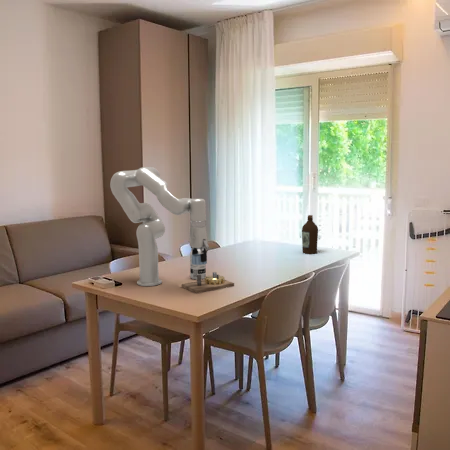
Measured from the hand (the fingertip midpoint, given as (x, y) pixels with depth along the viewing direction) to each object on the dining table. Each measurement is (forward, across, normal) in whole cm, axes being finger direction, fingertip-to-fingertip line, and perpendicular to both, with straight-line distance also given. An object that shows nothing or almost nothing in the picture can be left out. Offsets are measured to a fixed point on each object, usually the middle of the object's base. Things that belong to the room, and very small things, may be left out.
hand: (199, 260), depth 237 cm
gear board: (+14, 0, +5) cm, 15 cm away
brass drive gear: (+13, 0, +9) cm, 15 cm away
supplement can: (+14, -18, +10) cm, 25 cm away
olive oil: (+15, -32, +104) cm, 110 cm away
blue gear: (+2, 0, 0) cm, 2 cm away
